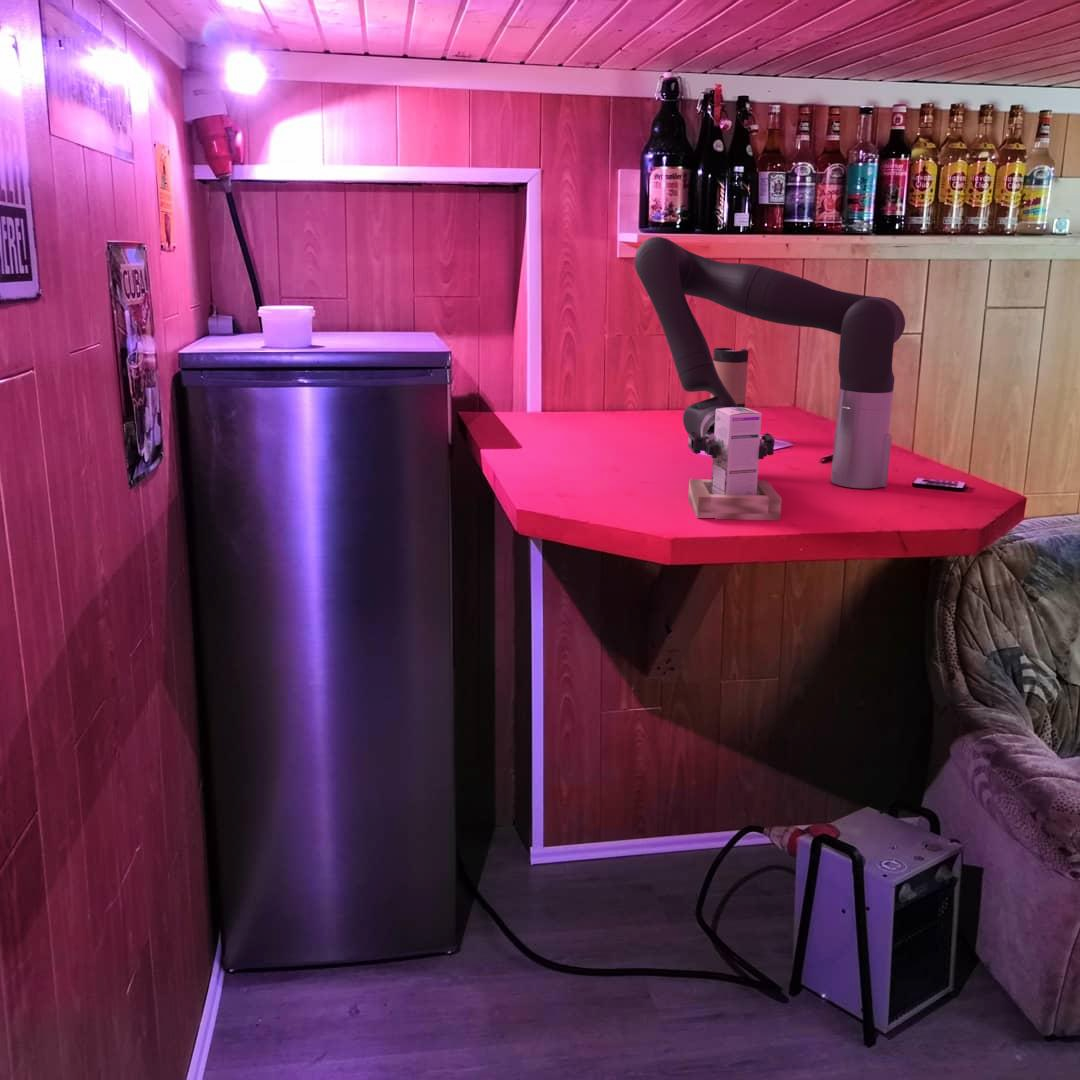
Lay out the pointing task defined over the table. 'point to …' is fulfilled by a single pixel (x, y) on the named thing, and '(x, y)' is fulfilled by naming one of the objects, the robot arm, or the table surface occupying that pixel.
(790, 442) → the table surface
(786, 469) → the table surface
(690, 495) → the holder
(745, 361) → the travel mug
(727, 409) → the syrup box
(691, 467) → the table surface
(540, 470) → the table surface
